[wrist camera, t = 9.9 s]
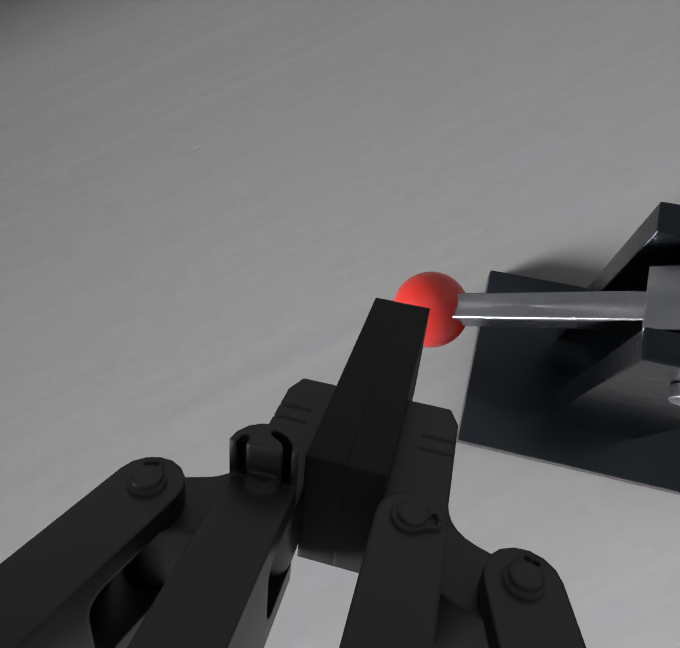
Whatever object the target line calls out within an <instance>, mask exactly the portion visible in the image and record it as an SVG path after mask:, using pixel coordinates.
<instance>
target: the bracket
mask: <svg viewBox="0 0 680 648" xmlns="http://www.w3.org/2000/svg"><path fill="white" fill-rule="evenodd" d="M656 265H680V205H678V204H672V203H665V202H660V204H659V205H658V206H657V207H656V208H655V209H654V211H653V212H652V213H651V214H650V215H649V217H648V218H647V219H646V220H645V221H644V222H643V224H642V225H641V226H640V227H639V228H638V229H637V231H636V232H635V233H634V234H633V235H632V237H631V238H630V239H629V240H628V241H627V242H626V244H625V245H624V246H623V247H622V248H621V249H620V251H619V252H618V253H617V254H616V255H615V257H614V258H613V259H612V260H611V261H610V262H609V264H608V265H607V266H606V267H605V268H604V269H603V271H602V272H601V273H600V274H599V275H598V277H597V278H596V279H595V280H594V281H593V282H592V284H591V285H590V286H589V287H588V288H583V287H578V286H573V285H567V284H562V283H556V282H551V281H545V280H540V279H535V278H529V277H524V276H518V275H513V274H507V273H502V272H497V271H490V274H489V277H488V280H487V285H486V290H485V293H525V292H589V291H646V290H647V282H648V274H649V267H650V266H656ZM456 442H459V443H463V444H467V445H471V446H475V447H480V448H484V449H488V450H492V451H497V452H501V453H505V454H509V455H514V456H518V457H522V458H526V459H531V460H535V461H539V462H543V463H548V464H552V465H556V466H560V467H564V468H569V469H573V470H577V471H581V472H586V473H590V474H594V475H598V476H603V477H607V478H611V479H615V480H620V481H624V482H628V483H632V484H636V485H641V486H645V487H649V488H653V489H658V490H662V491H666V492H670V493H675V494H679V495H680V333H675V332H670V331H665V330H659V329H654V328H649V327H646V328H644V329H643V330H613V329H572V328H531V327H491V326H478V331H477V337H476V342H475V347H474V352H473V357H472V362H471V368H470V373H469V378H468V383H467V388H466V393H465V398H464V404H463V409H462V414H461V419H460V424H459V429H458V435H457V440H456Z"/></svg>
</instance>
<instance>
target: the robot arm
mask: <svg viewBox="0 0 680 648" xmlns="http://www.w3.org/2000/svg"><path fill="white" fill-rule="evenodd" d="M429 312H430V308H426V307H421V306H415V305H410V304H405V303H400V302H395V301H390V300H385V299H380V298H376V299H375V301H374V303H373V306H372V308H371V310H370V312H369V315H368V317H367V319H366V321H365V324H364V326H363V328H362V330H361V333H360V335H359V337H358V339H357V341H356V344H355V346H354V348H353V350H352V353H351V355H350V357H349V359H348V362H347V364H346V366H345V368H344V371H343V373H342V375H341V377H340V380H339V382H338V384H337V386H335V385H331V384H327V383H322V382H318V381H313V380H309V379H302V380H301V381H300V382H298V383H297V384H295V385H294V386H292V387H291V388H289V389H288V391H287V393H286V395H285V397H284V398H283V400H282V402H281V405H279V407H278V409H277V411H276V413H275V415H274V417H273V418H272V420H271V421H270V423H269V424H257V425H250V426H247V427H245V428H243V429H241V430H239V431H237V432H236V433H235V434H234V435H233V436H232V437H231V438H230V472H229V474H225V475H221V476H215V477H185V476H184V474H183V471H182V469H181V467H180V466H178V465H177V464H176V463H174V462H173V461H171V460H168V459H164V458H161V457H146V458H142V459H139V460H135V461H132V462H130V463H129V464H127V465H125V466H123V467H122V468H120V469H119V470H118V471H116V472H115V473H114V474H113V475H111V476H110V477H109V478H108V479H106V480H105V481H104V482H103V483H101V484H100V485H99V486H98V487H96V488H95V489H94V490H93V491H91V492H90V493H89V494H88V495H86V496H85V497H84V498H83V499H81V500H80V501H79V502H78V503H76V504H75V505H74V506H72V507H71V508H70V509H69V510H67V511H66V512H65V513H64V514H62V515H61V516H60V517H59V518H57V519H56V520H55V521H54V522H52V523H51V524H50V525H49V526H47V527H46V528H45V529H44V530H42V531H41V532H40V533H39V534H37V535H36V536H35V537H34V538H32V539H31V540H30V541H29V542H27V543H26V544H25V545H23V546H22V547H21V548H20V549H18V550H17V551H16V552H15V553H13V554H12V555H11V556H10V557H8V558H7V559H6V560H5V561H3V562H2V563H1V564H0V648H264V646H265V643H266V640H267V638H268V635H269V632H270V630H271V627H272V624H273V622H274V619H275V616H276V614H277V611H278V608H279V606H280V603H281V600H282V598H283V595H284V592H285V590H286V587H287V584H288V582H289V578H290V571H291V560H292V558H293V555H294V553H295V550H296V548H297V545H298V556H299V557H303V558H307V559H310V560H314V561H317V562H321V563H325V564H328V565H332V566H335V567H339V568H343V569H346V570H350V571H353V572H357V573H359V576H358V579H357V583H356V587H355V591H354V594H353V598H352V602H351V606H350V609H349V613H348V617H347V621H346V624H345V628H344V632H343V636H342V639H341V643H340V647H339V648H586V646H585V643H584V640H583V637H582V635H581V632H580V629H579V626H578V623H577V621H576V618H575V615H574V612H573V609H572V607H571V604H570V601H569V598H568V595H567V593H566V590H565V587H564V584H563V582H562V580H561V579H560V577H559V575H558V573H557V572H556V570H555V569H554V568H553V567H552V566H551V565H550V564H549V563H548V562H547V561H545V560H544V559H543V558H541V557H539V556H538V555H536V554H534V553H532V552H530V551H527V550H523V549H518V548H505V549H499V550H498V551H496V552H494V553H493V554H490V553H488V552H486V551H485V550H483V549H481V548H479V547H477V546H476V545H474V544H473V543H471V542H470V541H468V540H467V539H465V538H464V537H463V536H462V535H461V534H460V533H459V532H458V531H457V529H456V528H455V526H454V525H453V523H452V521H451V519H450V516H449V510H448V503H449V495H450V487H451V479H452V471H453V463H454V454H455V446H456V438H457V430H458V425H457V423H456V420H455V418H454V416H453V414H452V412H451V410H449V409H445V408H440V407H436V406H431V405H427V404H422V403H418V402H413V401H412V399H413V395H414V391H415V386H416V380H417V375H418V370H419V365H420V359H421V354H422V349H423V344H424V338H425V333H426V328H427V323H428V317H429ZM298 542H299V543H298Z"/></svg>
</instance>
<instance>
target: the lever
mask: <svg viewBox="0 0 680 648" xmlns="http://www.w3.org/2000/svg"><path fill="white" fill-rule="evenodd" d="M394 301H395V302H400V303H405V304H410V305H415V306H421V307H426V308H430V312H429V317H428V323H427V328H426V333H425V338H424V344H423V347H439V346H442V345H445V344H448V343H450V342H451V341H453V340H454V339H455V338H457V337H458V336H459V335H460V333H461V332H462V331H463V329H464V327H465V326H491V327H531V328H572V329H613V330H643V329H644V328H646V327H649V328H654V329H659V330H665V331H670V332H675V333H680V265H656V266H650V267H649V274H648V282H647V290H646V291H589V292H525V293H465V291H464V290H463V288H462V287H461V286H460V284H459V283H458V282H457V281H455V280H454V279H453V278H451V277H450V276H448V275H445V274H442V273H438V272H424V273H420V274H417V275H415V276H413V277H411V278H409V279H408V280H407V281H406V282H405V283H404V284H403V285H402V286H401V287H400V288H399V290H398V292H397V294H396V296H395V299H394Z"/></svg>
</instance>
